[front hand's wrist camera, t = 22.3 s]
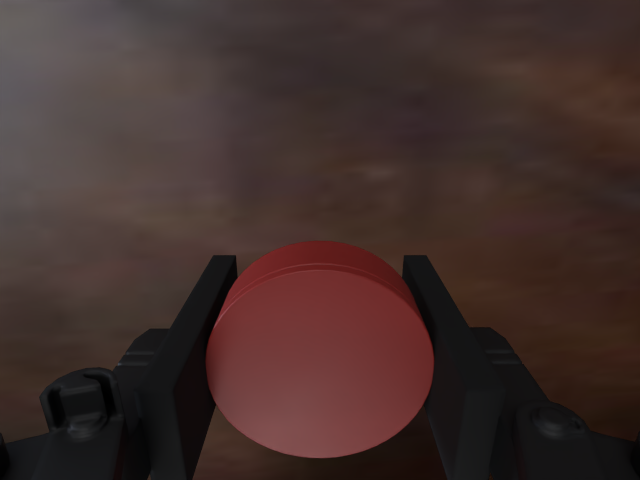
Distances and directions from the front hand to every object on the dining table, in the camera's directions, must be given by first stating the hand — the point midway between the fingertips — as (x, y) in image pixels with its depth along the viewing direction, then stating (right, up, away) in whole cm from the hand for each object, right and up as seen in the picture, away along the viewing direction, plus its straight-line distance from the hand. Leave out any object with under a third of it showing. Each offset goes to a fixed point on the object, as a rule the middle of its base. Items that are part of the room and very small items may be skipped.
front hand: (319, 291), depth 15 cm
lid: (0, -1, -4) cm, 4 cm away
